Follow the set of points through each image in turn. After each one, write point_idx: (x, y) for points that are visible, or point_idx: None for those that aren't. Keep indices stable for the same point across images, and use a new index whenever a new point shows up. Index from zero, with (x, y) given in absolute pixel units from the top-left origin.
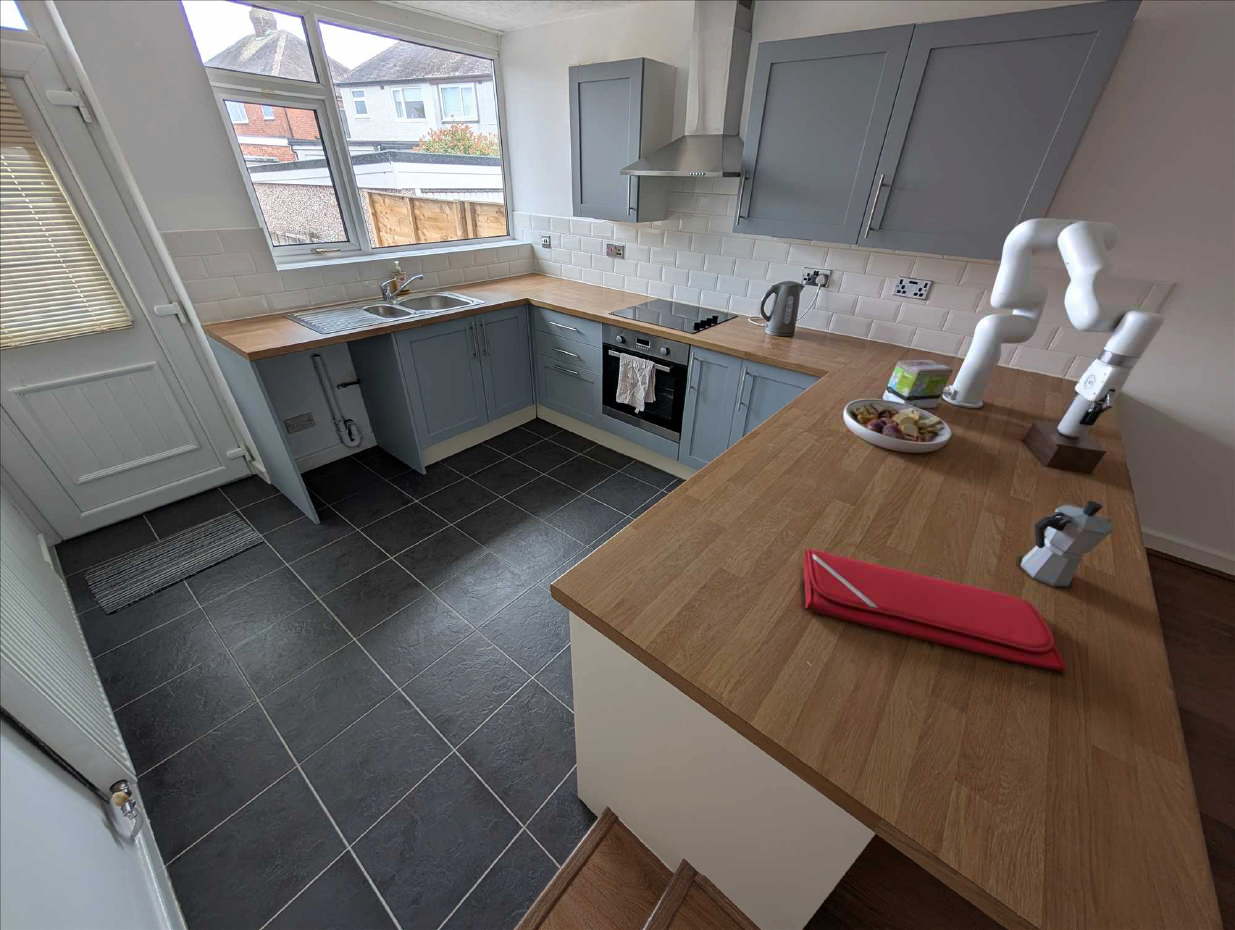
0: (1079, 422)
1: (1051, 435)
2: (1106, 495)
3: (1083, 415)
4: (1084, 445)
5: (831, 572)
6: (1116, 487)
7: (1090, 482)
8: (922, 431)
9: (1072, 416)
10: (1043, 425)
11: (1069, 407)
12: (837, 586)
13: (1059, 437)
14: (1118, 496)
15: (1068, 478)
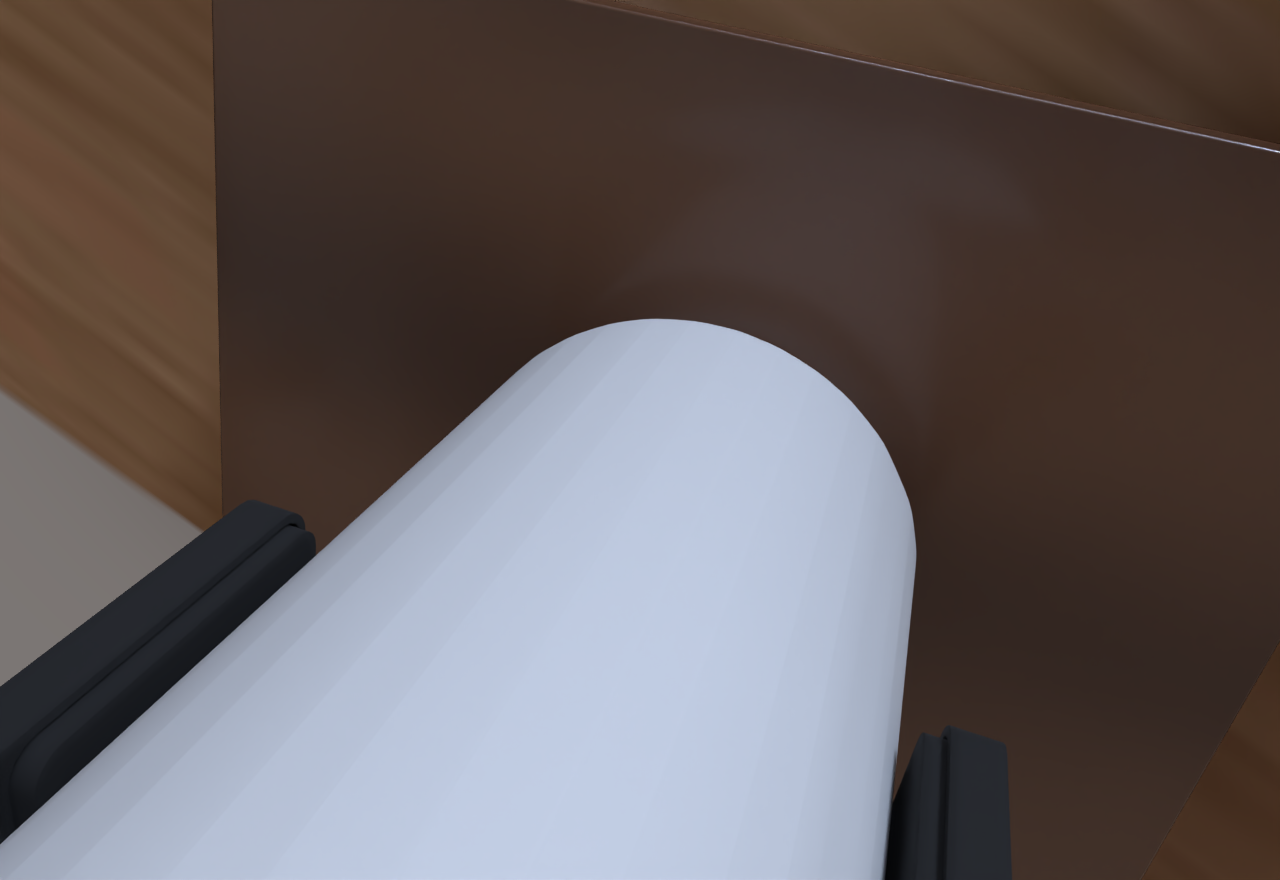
0: (262, 508)
1: (585, 81)
2: (6, 270)
3: (130, 631)
4: (324, 450)
5: None
6: (206, 498)
7: (211, 299)
8: None
9: (417, 500)
10: (1116, 266)
11: (972, 857)
12: None
13: (531, 207)
14: (39, 380)
15: (211, 84)
